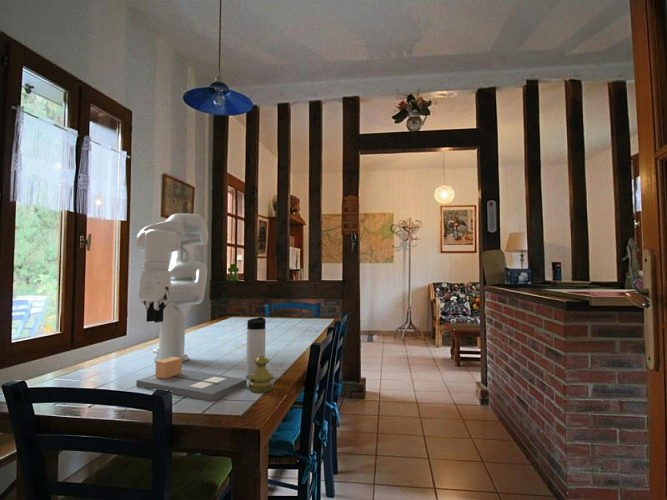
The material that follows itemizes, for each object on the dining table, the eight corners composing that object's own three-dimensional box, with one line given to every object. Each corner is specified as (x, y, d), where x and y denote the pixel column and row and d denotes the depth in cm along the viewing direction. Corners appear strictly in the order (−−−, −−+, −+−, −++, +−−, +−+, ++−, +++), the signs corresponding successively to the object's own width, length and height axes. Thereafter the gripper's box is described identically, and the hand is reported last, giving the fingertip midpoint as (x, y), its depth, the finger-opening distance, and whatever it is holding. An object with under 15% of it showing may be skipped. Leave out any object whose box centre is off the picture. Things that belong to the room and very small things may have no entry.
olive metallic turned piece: (259, 384, 125) (260, 353, 125) (277, 388, 121) (278, 355, 122) (243, 390, 119) (244, 357, 119) (262, 394, 115) (262, 360, 115)
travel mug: (268, 375, 135) (269, 317, 136) (258, 380, 129) (260, 320, 129) (252, 373, 137) (253, 316, 138) (242, 378, 131) (243, 319, 132)
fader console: (136, 386, 121) (136, 379, 121) (176, 373, 136) (176, 367, 136) (211, 401, 109) (212, 393, 109) (246, 385, 123) (246, 378, 123)
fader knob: (155, 377, 124) (155, 361, 124) (172, 371, 130) (173, 356, 130) (164, 378, 122) (165, 362, 122) (181, 373, 129) (182, 358, 129)
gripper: (129, 266, 130) (127, 321, 130) (165, 266, 124) (163, 324, 123) (148, 266, 137) (146, 318, 137) (183, 267, 131) (181, 321, 130)
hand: (154, 321), depth 130 cm, fingers open, 2 cm apart
